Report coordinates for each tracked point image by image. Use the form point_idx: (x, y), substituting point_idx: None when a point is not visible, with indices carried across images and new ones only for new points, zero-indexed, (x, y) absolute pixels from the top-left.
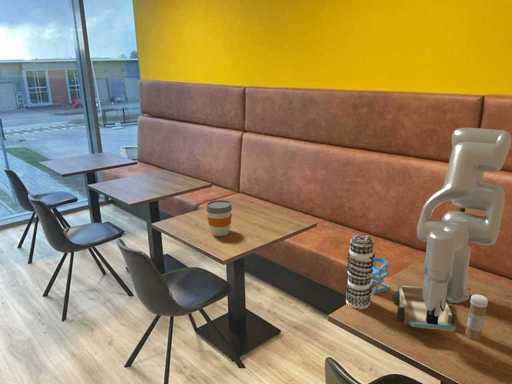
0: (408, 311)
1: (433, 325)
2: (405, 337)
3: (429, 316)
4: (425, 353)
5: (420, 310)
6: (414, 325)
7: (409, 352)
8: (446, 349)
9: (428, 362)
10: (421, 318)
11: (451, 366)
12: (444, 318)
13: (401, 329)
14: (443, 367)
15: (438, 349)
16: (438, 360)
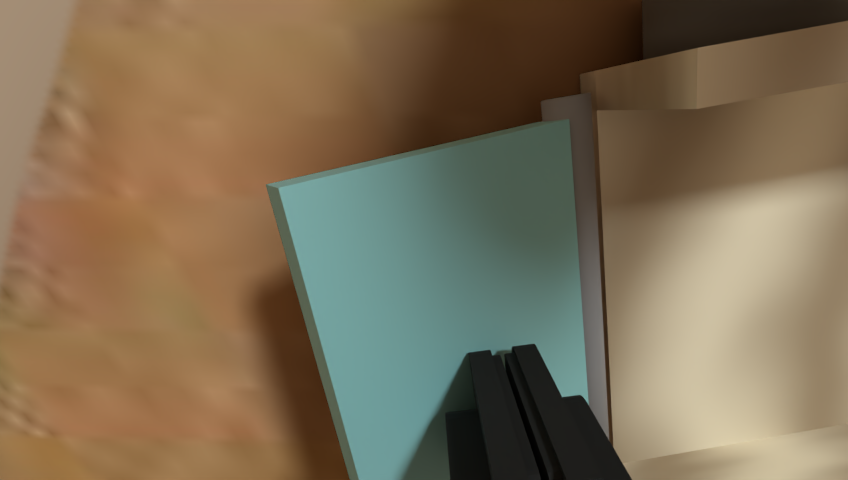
0: (691, 101)
1: (355, 462)
2: (336, 92)
3: (488, 461)
4: (157, 282)
5: (842, 248)
6: (277, 205)
7: (92, 137)
8: (297, 434)
9: (37, 305)
10: (689, 257)
11: (90, 460)
12: (714, 450)
13: (472, 43)
14: (41, 410)
15: (269, 381)
16: (114, 378)
